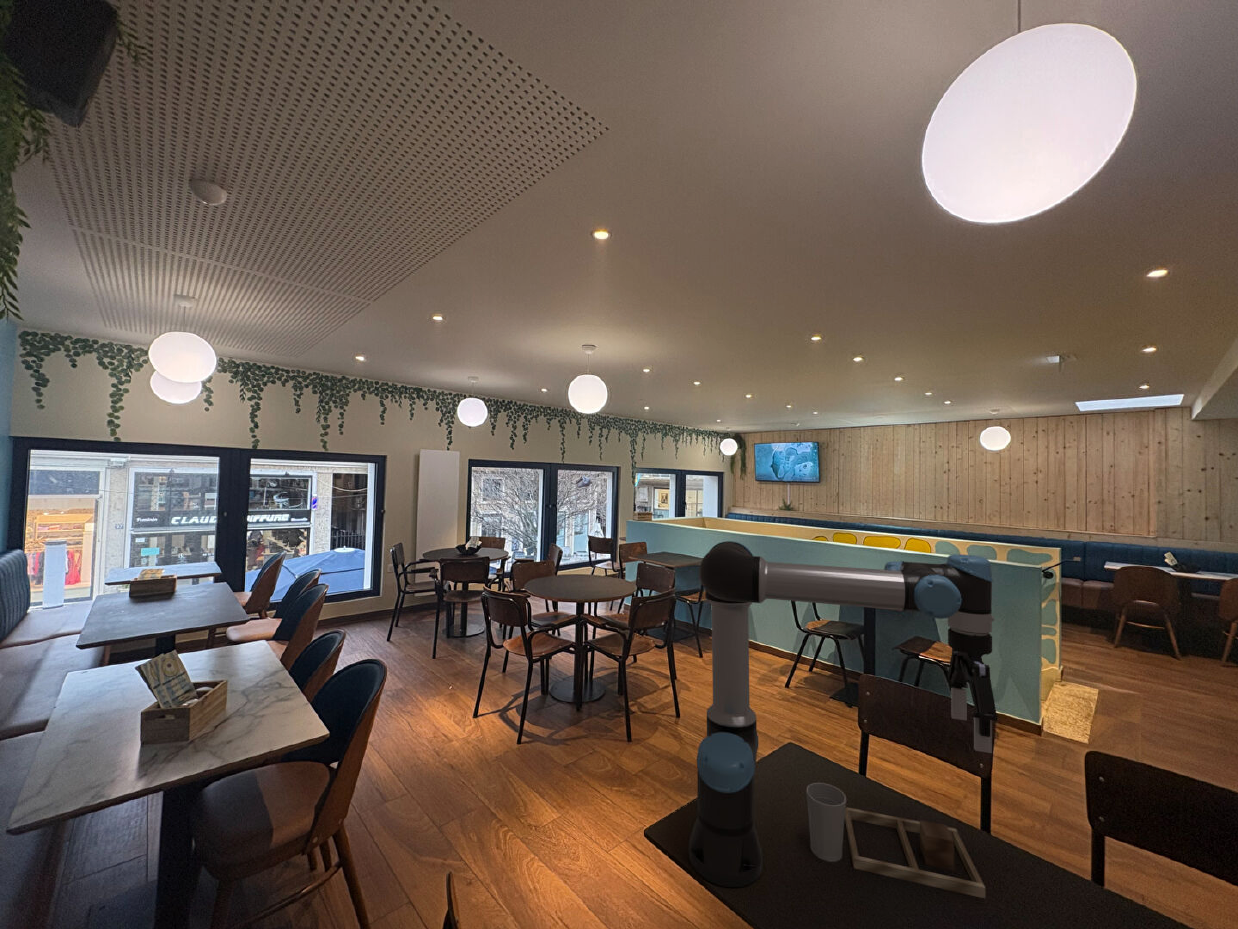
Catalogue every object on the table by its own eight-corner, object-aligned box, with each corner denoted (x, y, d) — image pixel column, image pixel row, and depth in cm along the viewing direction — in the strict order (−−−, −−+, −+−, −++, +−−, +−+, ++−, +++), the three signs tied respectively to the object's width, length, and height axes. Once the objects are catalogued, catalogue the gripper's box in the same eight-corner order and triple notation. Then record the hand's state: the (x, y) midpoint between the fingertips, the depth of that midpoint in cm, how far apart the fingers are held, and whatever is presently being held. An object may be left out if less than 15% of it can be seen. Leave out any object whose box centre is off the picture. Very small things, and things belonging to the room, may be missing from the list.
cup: (850, 867, 103) (850, 808, 103) (810, 861, 104) (809, 803, 104) (841, 840, 110) (841, 785, 111) (803, 834, 112) (803, 780, 112)
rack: (853, 868, 102) (853, 858, 102) (844, 815, 118) (844, 806, 119) (985, 898, 95) (985, 888, 95) (955, 838, 111) (955, 828, 111)
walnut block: (926, 865, 104) (926, 835, 104) (919, 848, 108) (919, 820, 108) (954, 871, 102) (953, 841, 102) (946, 853, 107) (946, 825, 107)
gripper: (1018, 652, 90) (1019, 771, 90) (969, 616, 114) (969, 710, 114) (970, 647, 93) (970, 763, 92) (931, 613, 116) (932, 705, 116)
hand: (970, 734), depth 103 cm, fingers open, 13 cm apart
